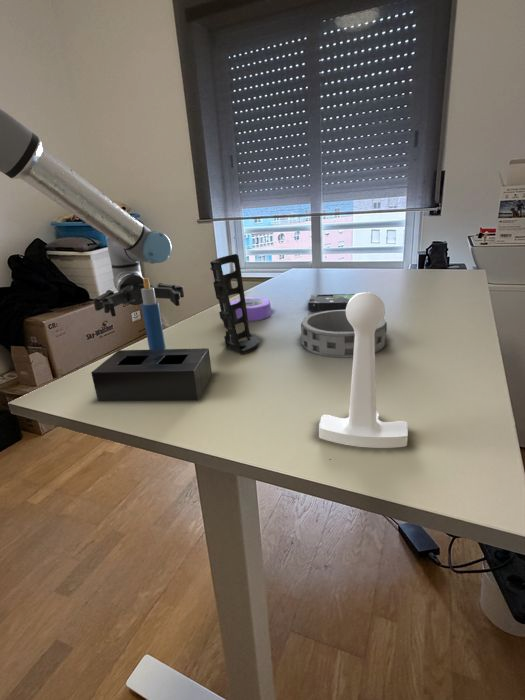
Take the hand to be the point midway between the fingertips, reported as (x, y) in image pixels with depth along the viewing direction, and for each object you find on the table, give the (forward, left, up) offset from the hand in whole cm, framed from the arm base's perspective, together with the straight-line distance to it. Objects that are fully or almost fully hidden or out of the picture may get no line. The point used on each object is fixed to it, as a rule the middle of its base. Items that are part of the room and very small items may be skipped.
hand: (145, 304), depth 87 cm
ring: (+42, +4, -11) cm, 44 cm away
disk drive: (+42, +34, -11) cm, 55 cm away
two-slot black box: (+8, -19, -11) cm, 23 cm away
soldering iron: (+4, -7, -11) cm, 14 cm away
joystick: (+42, -33, -11) cm, 55 cm away
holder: (+19, +3, -11) cm, 22 cm away
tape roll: (+18, +28, -11) cm, 35 cm away
